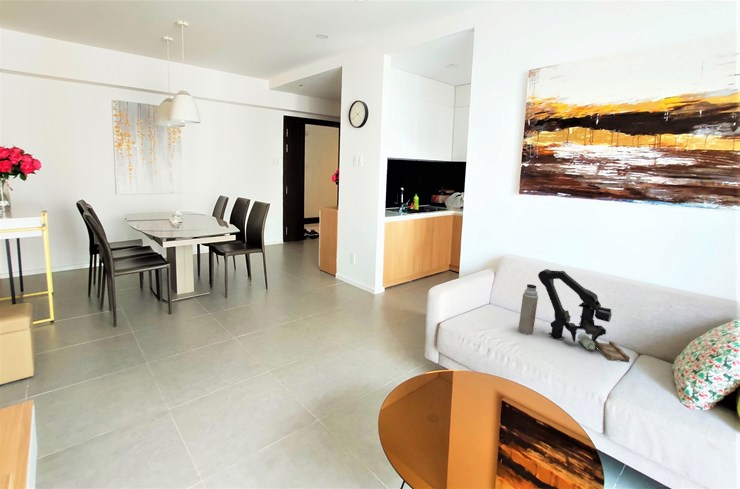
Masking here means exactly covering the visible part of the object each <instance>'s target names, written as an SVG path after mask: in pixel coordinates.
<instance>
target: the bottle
mask: <svg viewBox="0 0 740 489" xmlns="http://www.w3.org/2000/svg"><path fill="white" fill-rule="evenodd" d="M577 340H578V341H579V342H580V343H581V344H582V345H583V346H584V348H588V349H591V350H590V351H594V350H595V349H596V347H595V343H594V342H593V341H592V340H591V337H589V335H588V334H586V332H585V333H584V332H581V333H578V335H577ZM588 349H587V350H588Z"/></svg>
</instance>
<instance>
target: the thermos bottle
mask: <svg viewBox="0 0 740 489" xmlns="http://www.w3.org/2000/svg"><path fill="white" fill-rule="evenodd" d="M538 300H539V295H538V290H537V286H536V285H535V284H526V289H524V292H523V293H522V299H521V307H520V315H519V320H518V321H519V322H518V330H519V331H520V332H519V331H518V330H517V331H518V332H519V333H521V332H522V333H521V334H523V333H525V334H524V335H533V334H534V328H535V322H536V315H537V306H538ZM532 333H533V334H532Z"/></svg>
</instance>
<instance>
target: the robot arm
mask: <svg viewBox="0 0 740 489" xmlns="http://www.w3.org/2000/svg"><path fill="white" fill-rule="evenodd" d="M537 277H538V279H539V281H540V283H541V284H542V285H543V286H544V287H545V289H546V292H547V295H548V298H549V299H550V303H551V305H552V308H553V310H554V311H553V312H554V320H552V322H550V327H551V332H548V334H549V336H550V335H551V336H550V337H551V338H552V337H553V338H552V339H556V338H563V339H562V340H565V337H564V336H563V334H564V333H563V332H564V327H565V329H566V330H567V331H568V332H570V335H571V340H572V341H573V343H575V342H576V336H577V334H578V332H577V331H578V330H581V331H584V332H585V334H586V335H587V336H589V335H591V337H590V339H591V340H592V341H593V342H595V340H598V338H599V337H601V336H603V335H606V334H607V329H606V328H605V327H603V326H602V325H597V324H595V320H594V317H595V319H597V320H600V321H603V322H607V323H609V322H611V320H612V316H613V315H612V308H608V307H607V308H606V307H604V306H603V307H602V305H601V303H600V301H599V299H598V298H599V296H598V295H597V294H596V293H595V292H593V291H591V290H589V289H587V288H585V287H583V285H581V284H580V283H579V282H577V281H576V280H575V279H573V278H572V277H571V276H570V275H569V274H567V272H566V271H564V270H550V269H549V268H548V269H543V270H541V271H539V272H538V274H537ZM554 280H560V281H562V282H563V283H564V284H565V285H566V286H567V287H568V288H570V289H571V290H572V291H573V292H575V294H577V295H578V297H579V299H580V300H581V301H582V302H581V303H580V304H578V307H580V308H582V310H581V314H580V315H579V316H580V321H579V322H578V325H576V324H575V323H574V322H573V323H572V322H570V321H571V315H570V314H569V312H570V311H569V310H568V309H567V310H565V309H564V308H563V304H562V302H561V300H560V297H559V294H558V291H557V289H556V286H555V285H554Z"/></svg>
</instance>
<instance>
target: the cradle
mask: <svg viewBox="0 0 740 489" xmlns="http://www.w3.org/2000/svg"><path fill="white" fill-rule="evenodd" d="M597 340H598V339H596V340H595V342H594V343H595V348H596V347H597V348H598V349H599V350H600V351H601V353H602V354H603V355H604V356H605V357H606V358H607V359H613V360H612V361H615V360H620V361H619V362H627V363H629V362H630V356H629V355H628V354H627V353H626V352H625V351H623V350H622V349H621V348H620V347H619V346H618V345H617V344H616V343H615V342H614V341H612V340H609V342H598V341H597ZM597 348H596V349H597ZM598 349H597V350H598ZM599 350H598V351H599ZM600 351H599V352H600ZM602 354H601V355H602ZM603 355H602V356H603ZM604 356H603V357H604ZM605 357H604V358H605ZM606 358H605V359H606ZM607 359H606V360H607Z"/></svg>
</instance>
